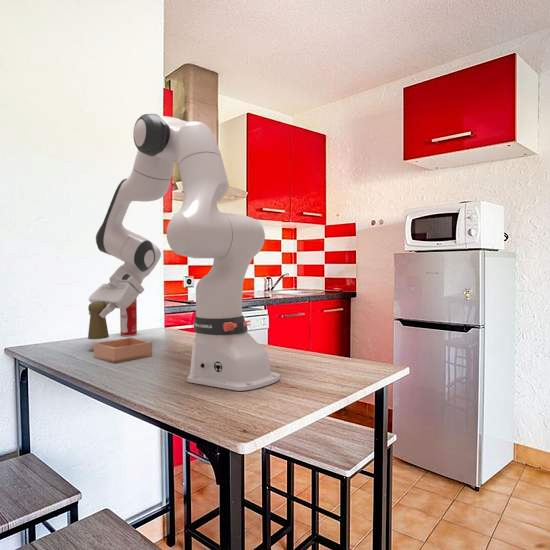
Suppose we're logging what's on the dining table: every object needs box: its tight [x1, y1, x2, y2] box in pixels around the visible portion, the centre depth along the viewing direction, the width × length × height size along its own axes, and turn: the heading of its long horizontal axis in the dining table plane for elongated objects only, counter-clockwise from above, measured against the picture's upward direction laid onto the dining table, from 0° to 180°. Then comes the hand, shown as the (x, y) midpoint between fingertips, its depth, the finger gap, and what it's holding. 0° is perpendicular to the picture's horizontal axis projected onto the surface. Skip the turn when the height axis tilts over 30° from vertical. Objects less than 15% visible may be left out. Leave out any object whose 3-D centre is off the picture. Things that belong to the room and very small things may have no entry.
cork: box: [87, 302, 110, 340], centre depth 134 cm, size 6×6×11 cm
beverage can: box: [119, 297, 138, 337], centre depth 160 cm, size 6×6×15 cm
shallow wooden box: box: [93, 337, 153, 364], centre depth 125 cm, size 12×12×4 cm
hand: (95, 316), depth 134 cm, fingers closed on cork, 5 cm apart
